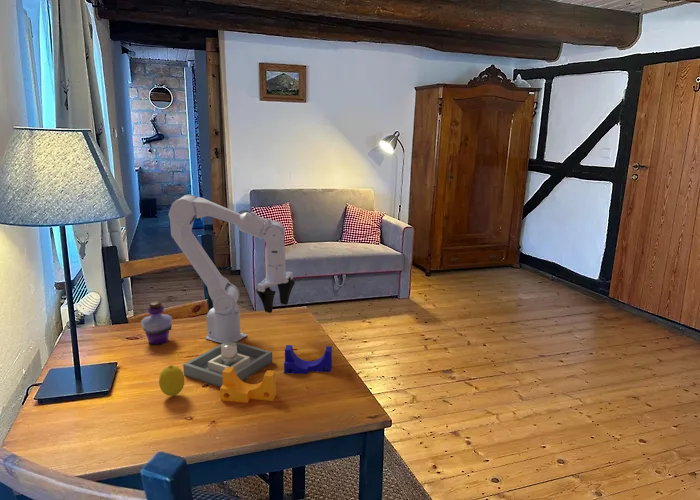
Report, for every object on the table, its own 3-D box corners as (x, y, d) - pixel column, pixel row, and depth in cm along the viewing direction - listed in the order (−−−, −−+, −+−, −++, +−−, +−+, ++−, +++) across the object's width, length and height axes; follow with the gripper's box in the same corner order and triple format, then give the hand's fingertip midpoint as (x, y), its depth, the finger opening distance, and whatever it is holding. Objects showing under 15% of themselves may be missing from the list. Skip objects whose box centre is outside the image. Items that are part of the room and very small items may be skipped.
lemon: (162, 405, 114) (159, 373, 112) (159, 393, 118) (156, 362, 116) (187, 399, 116) (185, 368, 114) (183, 388, 121) (181, 358, 119)
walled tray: (184, 375, 127) (183, 364, 126) (229, 349, 142) (229, 339, 141) (228, 390, 120) (228, 379, 119) (272, 362, 135) (272, 351, 134)
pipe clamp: (220, 400, 116) (219, 375, 114) (227, 391, 120) (226, 366, 119) (270, 405, 114) (269, 380, 113) (275, 395, 119) (275, 370, 117)
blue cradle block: (284, 373, 129) (283, 352, 127) (287, 365, 133) (286, 345, 132) (330, 375, 128) (330, 354, 127) (331, 367, 133) (331, 346, 131)
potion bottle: (180, 338, 148) (177, 300, 145) (158, 350, 141) (155, 310, 137) (158, 333, 152) (154, 296, 148) (136, 344, 144) (132, 305, 141)
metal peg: (218, 368, 130) (217, 346, 128) (228, 361, 133) (227, 341, 132) (231, 371, 128) (230, 349, 127) (240, 364, 132) (239, 343, 130)
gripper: (271, 272, 136) (272, 318, 140) (301, 259, 148) (301, 302, 152) (250, 268, 139) (252, 313, 143) (281, 256, 152) (282, 298, 155)
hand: (276, 307), depth 148 cm, fingers open, 7 cm apart
